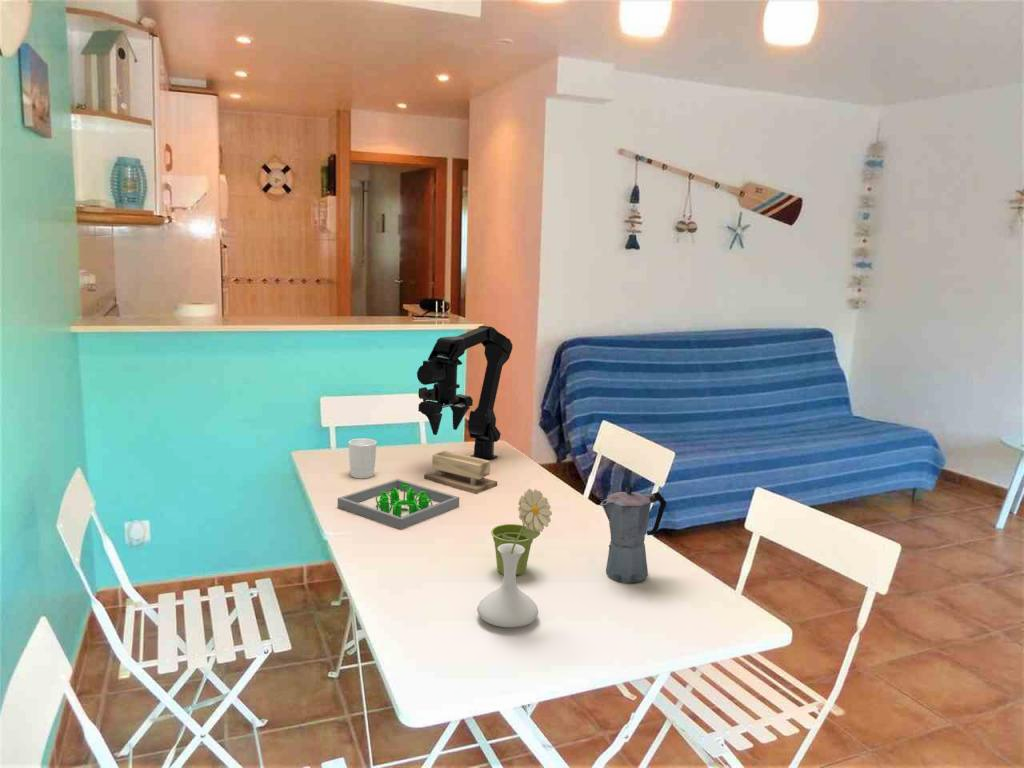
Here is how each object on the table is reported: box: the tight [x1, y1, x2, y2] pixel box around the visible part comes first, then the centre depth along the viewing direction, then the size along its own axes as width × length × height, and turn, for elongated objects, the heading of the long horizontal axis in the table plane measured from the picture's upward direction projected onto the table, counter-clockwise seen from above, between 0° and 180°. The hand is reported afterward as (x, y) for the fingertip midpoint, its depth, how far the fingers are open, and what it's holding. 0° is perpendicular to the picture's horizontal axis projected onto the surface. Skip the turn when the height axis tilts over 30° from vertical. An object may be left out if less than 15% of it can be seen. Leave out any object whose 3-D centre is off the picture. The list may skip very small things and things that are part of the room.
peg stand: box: [423, 469, 498, 494], centre depth 219 cm, size 10×19×3 cm, turn 55°
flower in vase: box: [476, 488, 553, 628], centre depth 140 cm, size 13×11×25 cm
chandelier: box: [375, 483, 434, 517], centre depth 195 cm, size 15×15×7 cm
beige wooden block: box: [431, 450, 491, 479], centre depth 218 cm, size 6×16×4 cm, turn 59°
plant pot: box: [490, 523, 534, 576], centre depth 162 cm, size 9×9×9 cm
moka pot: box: [600, 485, 667, 584], centre depth 162 cm, size 10×15×20 cm, turn 113°
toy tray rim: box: [337, 478, 460, 530], centre depth 196 cm, size 22×22×2 cm
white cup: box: [348, 437, 378, 479], centre depth 220 cm, size 8×8×10 cm
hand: (445, 432), depth 227 cm, fingers open, 9 cm apart
